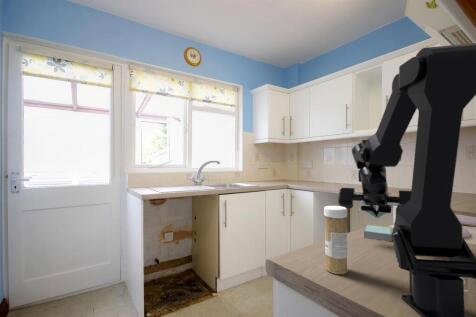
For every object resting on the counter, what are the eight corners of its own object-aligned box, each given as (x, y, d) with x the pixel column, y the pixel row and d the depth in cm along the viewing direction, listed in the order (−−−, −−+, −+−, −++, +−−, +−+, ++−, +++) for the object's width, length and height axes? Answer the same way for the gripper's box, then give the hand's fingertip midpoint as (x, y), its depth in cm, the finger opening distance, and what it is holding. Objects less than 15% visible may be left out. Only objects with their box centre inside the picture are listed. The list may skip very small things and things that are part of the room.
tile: (391, 234, 67) (391, 227, 74) (363, 230, 70) (366, 224, 77) (391, 243, 66) (391, 235, 74) (364, 239, 70) (366, 232, 77)
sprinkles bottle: (324, 264, 52) (323, 204, 52) (346, 267, 51) (345, 205, 51) (326, 274, 48) (324, 208, 48) (350, 276, 46) (348, 209, 47)
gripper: (416, 160, 60) (414, 197, 69) (339, 161, 71) (346, 193, 80) (419, 194, 54) (417, 230, 63) (334, 189, 64) (342, 221, 73)
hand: (377, 216), depth 70 cm, fingers closed
